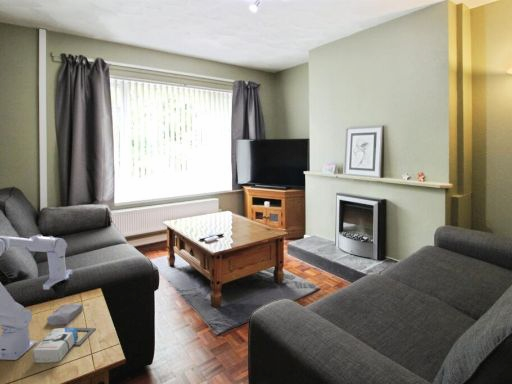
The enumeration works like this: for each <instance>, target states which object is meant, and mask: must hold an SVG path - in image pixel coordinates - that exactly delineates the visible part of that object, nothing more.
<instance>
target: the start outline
mask: <svg viewBox="0 0 512 384" xmlns="http://www.w3.org/2000/svg"><path fill="white" fill-rule="evenodd" d="M61 328H70V327H67V326H66V327H65V326H63V327H62V326H61ZM76 328H77V332H87V333H86V334H85V335H84V336H83V337H82V338H81V339H80V340H79V341H76V342H75V343H74V344H73V346H77V347H78V346H81V345H83V343H84V342H85V341H86V340H87V339H88V338H89V337H90V336H91V335H92V334H93V333H94V331H96V330H97V328H96V327H76Z"/></svg>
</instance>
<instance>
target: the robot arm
mask: <svg viewBox="0 0 512 384" xmlns="http://www.w3.org/2000/svg"><path fill="white" fill-rule="evenodd" d="M67 247H68V242H67V241H66V240H65V239H64V238H62V237H61V238H60V237H54V236H52V235H48V236H43V234H36V235H31V236H30V237H29V238H25V237H18V236H17V237H16V236H9V235H8V236H6V235H0V257H1V256H2V254H3V253H4V252H7V251H8V250H9V248H27V250H28V251H29V252H40V253H42V252H43V253H45V252H46V255H47V263H48V271H49V273H48V274H49V278H48V279H47V281H45V283H44V284H42V289H43V290H50V289H52V291H53V292H54V294H55V296H56V298H57V299H59V300H60V299H63V298H65V294H66V289H67V286H68V284H69V282H70V279H69V278H70V275H73V269H67V266H66V258H65V257H66V249H67ZM32 320H33V313H32V311H31V310H30V309H26V308H25V307H24V305H22V304H20V303H18V302H16V301H15V300H14V298H13V297H12V296H11V294H10V292H8V290H7V288H6V287H5V286H4V285H3V284H2V283H1V281H0V329H1V332H0V360H5V361H6V360H7V361H8V360H9V361H12V360H13V361H16V360H18V359H19V358H21V356H23V355H24V354H25V353H27V352H28V351H29V350H30V349H31V348H32V347H34V346H35V345H36V344H37V343H38V341H37V340H31V337H30V328H29V326H30V323H31V321H32Z"/></svg>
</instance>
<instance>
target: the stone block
mask: <svg viewBox="0 0 512 384" xmlns="http://www.w3.org/2000/svg"><path fill="white" fill-rule="evenodd" d="M83 310H84V307H83V304H80V303H75V302H74V303H67V304H64V305H61V306H59V308H57V309H56V310H55V311H53V313H51V314H50V315H49V316H48V317H47V319H46V321H47V323H48V325H52V326H56V325H69V324H70V323H71V322H72V321H73V320H74V319H75V318H76V317H77V316H78V315H79V314H80V313H82V312H83Z"/></svg>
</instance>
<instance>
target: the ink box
mask: <svg viewBox="0 0 512 384" xmlns="http://www.w3.org/2000/svg"><path fill="white" fill-rule="evenodd" d="M77 328H78V327H69V328H62V327H60V328H59V327H58V328H53V329H52V330H51V331H50V332H49V334H47V336H46V337H45V338H44V339H42V341H40V342H39V344H38V345H37V346H36V347H35V348H34V349H33V350H32V354H33V361H34V363H39V364H41V363H58V362H61V361H62V359H63V358H65V356H66V355H67V353H68V352H69V351H70V350H71V348H72V347H73V346H74V345H73V344H74V343H75V342H78V339H79V334H78V331H77Z"/></svg>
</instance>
